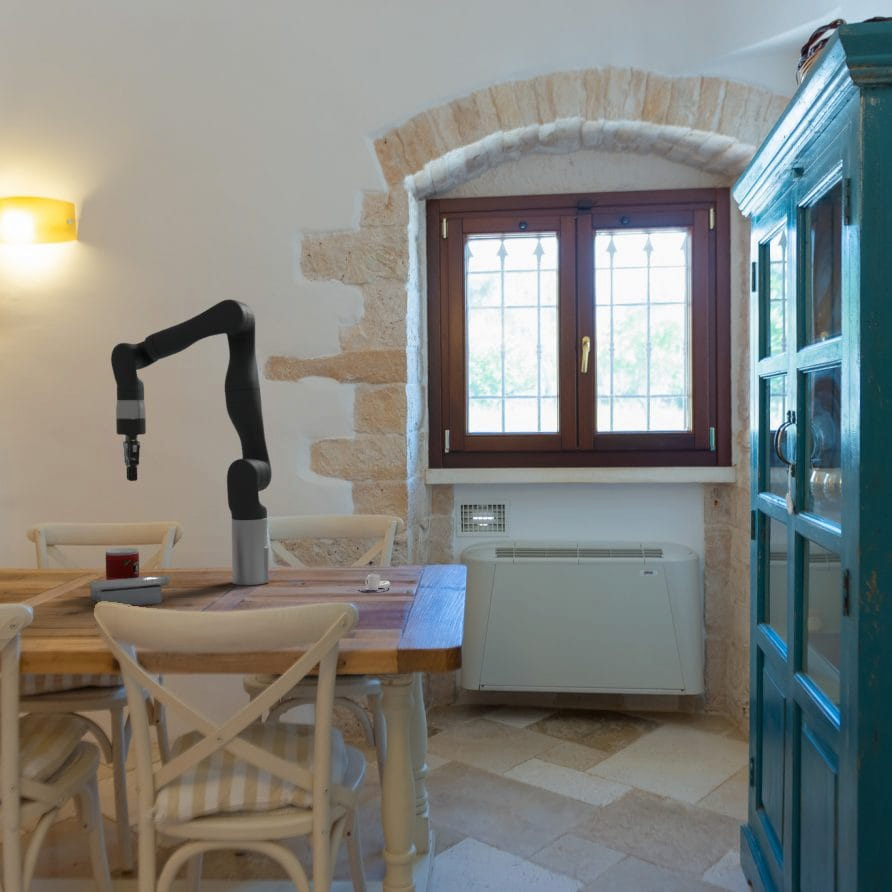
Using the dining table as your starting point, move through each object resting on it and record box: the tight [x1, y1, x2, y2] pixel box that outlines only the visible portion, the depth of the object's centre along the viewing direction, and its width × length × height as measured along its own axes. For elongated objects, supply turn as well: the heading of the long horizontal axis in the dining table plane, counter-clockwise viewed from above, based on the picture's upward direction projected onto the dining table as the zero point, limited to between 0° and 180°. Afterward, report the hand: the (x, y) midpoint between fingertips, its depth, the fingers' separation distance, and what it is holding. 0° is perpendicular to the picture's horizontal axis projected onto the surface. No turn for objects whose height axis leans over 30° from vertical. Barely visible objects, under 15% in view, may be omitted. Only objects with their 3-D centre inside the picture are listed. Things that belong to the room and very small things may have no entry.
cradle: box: [89, 574, 170, 606], centre depth 214 cm, size 17×14×6 cm
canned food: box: [105, 547, 140, 580], centre depth 222 cm, size 8×8×11 cm
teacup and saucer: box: [364, 573, 391, 590], centre depth 227 cm, size 9×8×4 cm
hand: (132, 480), depth 242 cm, fingers open, 3 cm apart
